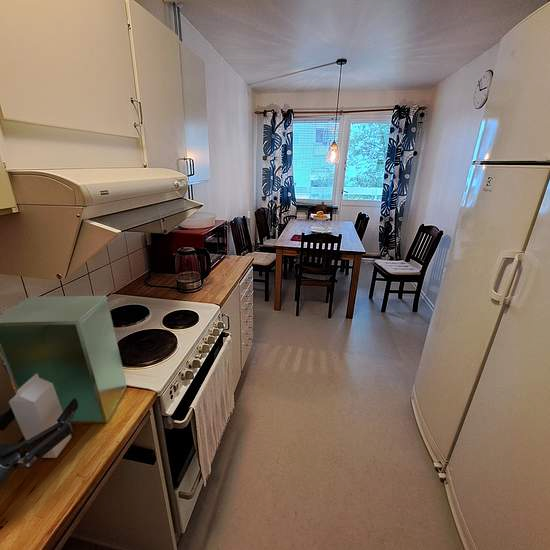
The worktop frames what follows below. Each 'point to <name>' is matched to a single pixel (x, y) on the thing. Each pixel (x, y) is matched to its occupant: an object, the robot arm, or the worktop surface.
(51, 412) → the milk
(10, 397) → the fridge door
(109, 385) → the fridge
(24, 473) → the worktop surface
